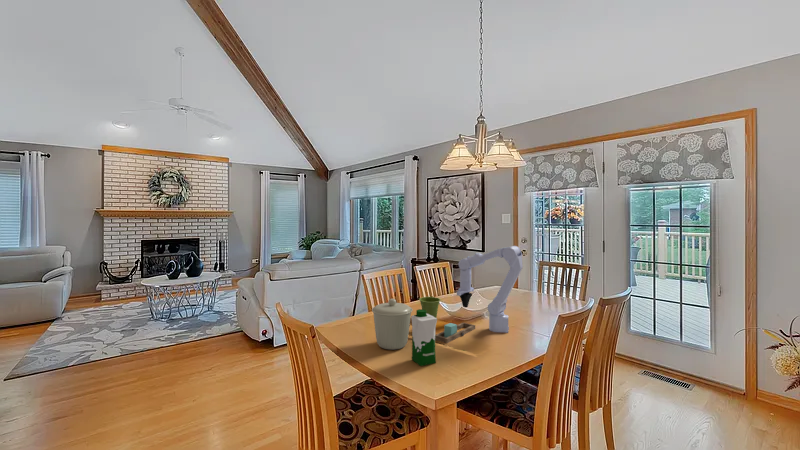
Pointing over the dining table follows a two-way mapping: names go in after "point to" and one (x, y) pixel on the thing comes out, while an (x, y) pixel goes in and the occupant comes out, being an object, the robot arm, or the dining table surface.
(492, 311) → the robot arm
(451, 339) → the wooden tray
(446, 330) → the teal block
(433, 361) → the milk carton
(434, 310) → the plant pot
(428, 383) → the dining table surface
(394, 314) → the canister
